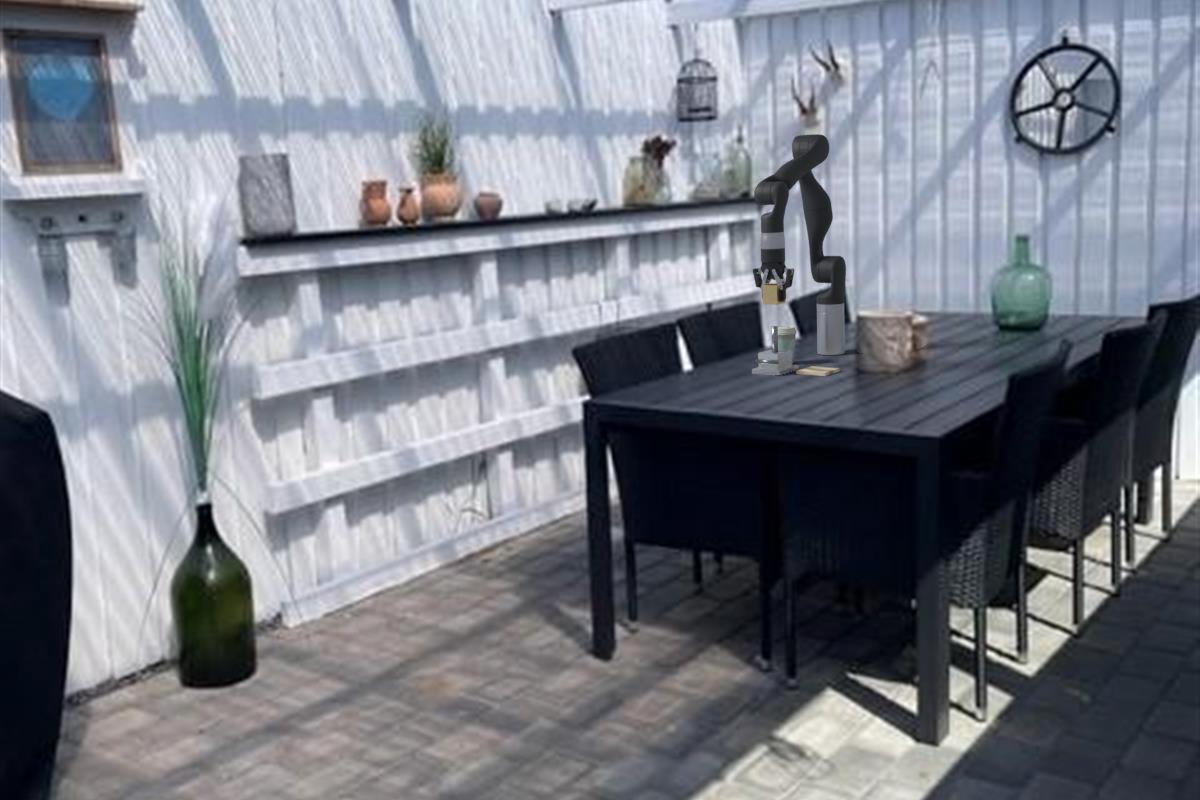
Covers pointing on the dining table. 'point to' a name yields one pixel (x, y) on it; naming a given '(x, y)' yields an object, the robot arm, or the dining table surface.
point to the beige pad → (818, 371)
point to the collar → (771, 294)
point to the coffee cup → (786, 338)
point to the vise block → (774, 359)
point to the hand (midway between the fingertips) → (774, 301)
